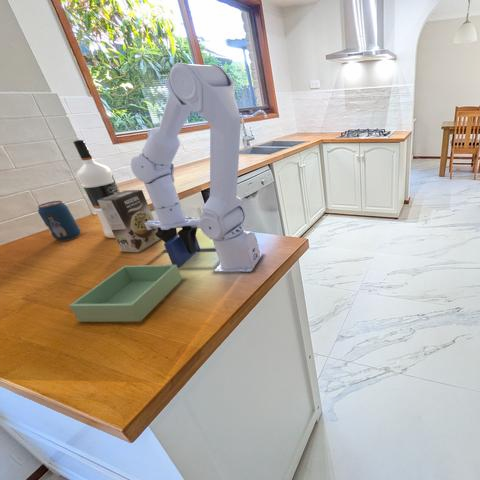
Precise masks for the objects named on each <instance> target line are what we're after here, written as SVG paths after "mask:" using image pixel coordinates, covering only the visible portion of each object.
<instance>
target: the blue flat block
mask: <svg viewBox="0 0 480 480" xmlns="http://www.w3.org/2000/svg"><path fill="white" fill-rule="evenodd" d="M195 244H196V251H195V252H193V253H192V254H189V252H188V250H187V248H186V245H185V243H184V242H183V240H182V239H181V237H180V236H179V235H178V234H177V235H175V236H174V237H173V238H171V239H170V240H169V241H167V242H166V243H165V242H164V247H165V250H167V253H166V254H167V256H168V258H169V260H170V262H171V265H177V267H178V269H180V268H181V267H182V266H183V265H184V264H185V263H187V262H188V261H189V260H190V259H191V258H192V257H194V255H195V254H196V253H198V252H197V251H198V250H199V249H201V247H200V244H199V241H198V238H197V237H196V239H195Z"/></svg>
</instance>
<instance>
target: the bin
mask: <svg viewBox="0 0 480 480" xmlns="http://www.w3.org/2000/svg"><path fill="white" fill-rule="evenodd" d="M182 280H183V276H182V275H181V272H180V269H179V268H178V267H177V265H172V264H147V265H144V264H143V265H142V264H141V265H122V267H121V268H119V269H118V270H117V271H115V272H114V273H112V274H110V275H109V276H108V277H107V278H105V279H104V280H102V281H101V282H100V283H97V285H95V286H94V287H93V288H91V289H90V290H89V291H87V292H86V293H84V294H83V295H81V296H80V297H79V298H77V299H76V300H74V301H73V302H72V303H70V304H69V305H68V307H69V308H70V310H71V311H72V313H73V314H74V317H76V319H77V320H78V322H95V323H96V322H107V323H108V322H122V323H123V322H124V323H125V322H141V321H143V320H144V318H146V316H147V315H149V313H151V311H153V310H154V308H155V307H157V306H158V304H159V303H161V301H162V300H164V299H165V297H166V296H168V294H169V293H170V292H171V291H173V289H174V288H175V287H176V286H177V285H178V284H179V283H180V282H181V281H182Z"/></svg>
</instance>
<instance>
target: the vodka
mask: <svg viewBox="0 0 480 480" xmlns="http://www.w3.org/2000/svg"><path fill="white" fill-rule="evenodd" d="M72 143H73V145H74V147H75V150H76V151H77V153H78V155H79V157H80V159H81V161H82V163H83V164H82V165H81V166H80V168H79V169H78V170H77V171H76V178H77V180H78V181H79V182H80V184H81V187H82V188H83V189H84V192H85V193H86V195H87V197H88V199H89V201H90V203H91V205H92V207H93V211H94V212H95V213H96V215H97V217H98V219H99V221H100V225H101V227H102V232H103V234H104V236H105V237H106V238H108V239H116V238H115V236H114V234H113V232H112V230H111V228H110V226H109V224H108V222H107V219H106V217H105V215H104V213H103V211H102V209H101V207H100V205H99V203H98V201H97V200H99V199H102V198H105V197H108V196H111V195H113V194H116V193H119V192H121V191H120V189H119V187H118V184H117V182H116V180H115V177H114V176H113V174H112V173H113V172H112V170H111V168H109V167H108V166H107V165H103V164H101V163H98V162H96V161H95V160H94V157H93V156H92V154H91V152H90V149H89V147H88V145H87V144H86V141H85V140H84V139H77V140H74V141H73V142H72Z"/></svg>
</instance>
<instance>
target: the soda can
mask: <svg viewBox="0 0 480 480" xmlns="http://www.w3.org/2000/svg"><path fill="white" fill-rule="evenodd" d="M37 208H38V210H37V211H38V212H37V213H38V215H39V216H40V217H41V219H42V221H43V223H44V224H45V226H46V228H47V229H48V232H50V234H51V236H52V238H53V239H55V240H57V241H59V242H66V241H71V240H73V239H76V238H78V237H79V236H80V235H81V231H82V230H81V229H80V227H79V225H78V223H77V221H76V219H75V217H74V216H73V214H72V212H71V210H70V209H69V207H68V205H67V204H65V203H64V202H63V201H62V200H53V201H48V202H44V203H41V204H39V205H38V206H37Z"/></svg>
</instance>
